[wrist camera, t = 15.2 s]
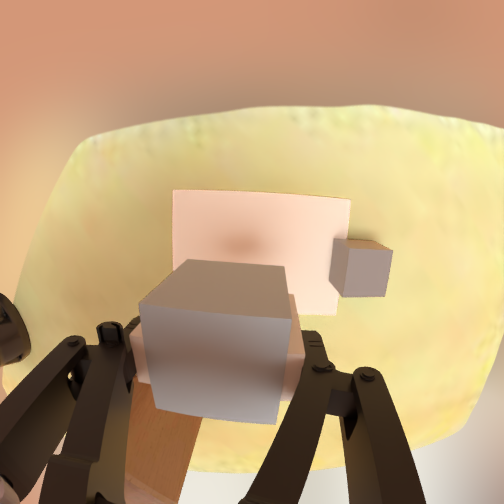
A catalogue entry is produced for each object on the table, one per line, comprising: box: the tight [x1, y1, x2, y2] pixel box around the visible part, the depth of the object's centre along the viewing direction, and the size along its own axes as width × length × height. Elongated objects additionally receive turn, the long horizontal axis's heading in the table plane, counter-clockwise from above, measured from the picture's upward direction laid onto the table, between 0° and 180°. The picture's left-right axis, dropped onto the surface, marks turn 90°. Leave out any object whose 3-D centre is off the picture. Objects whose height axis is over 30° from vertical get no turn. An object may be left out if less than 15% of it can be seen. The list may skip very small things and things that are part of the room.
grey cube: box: [329, 238, 393, 297], centre depth 28 cm, size 5×5×5 cm
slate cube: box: [139, 259, 292, 425], centre depth 14 cm, size 6×6×7 cm
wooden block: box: [124, 376, 203, 504], centre depth 28 cm, size 10×10×20 cm
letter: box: [172, 190, 351, 315], centre depth 31 cm, size 20×14×1 cm
